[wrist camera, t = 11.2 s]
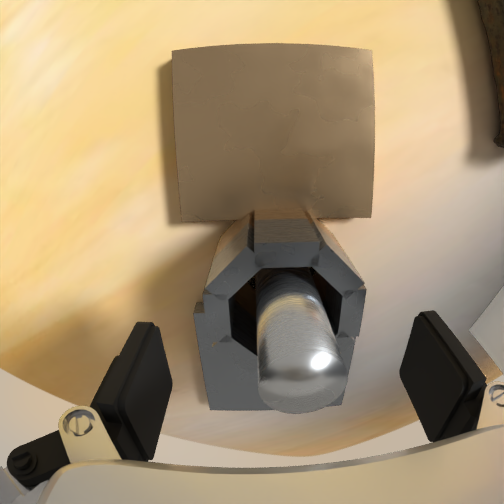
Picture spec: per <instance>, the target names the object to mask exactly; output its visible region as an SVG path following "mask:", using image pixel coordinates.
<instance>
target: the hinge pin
mask: <svg viewBox="0 0 504 504" xmlns="http://www.w3.org/2000/svg"><path fill="white" fill-rule="evenodd" d="M255 279H256V319H257V360H258V391H259V395H260V397H261V399H262V400H263V401H264V403H266V404H267V405H268V406H269V407H271V408H273V409H275V410H277V411H280V412H284V413H292V414H301V413H308V412H312V411H316V410H319V409H321V408H323V407H325V406H327V405H329V404H331V403H332V402H333V401H335V400H336V399H337V398H338V397H339V396H340V395H341V394H342V392H343V391H344V389H345V387H346V384H347V380H348V374H347V370H346V367H345V364H344V362H343V359H342V356H341V353H340V350H339V347H338V345H337V342H336V339H335V336H334V333H333V331H332V328H331V325H330V322H329V320H328V317H327V314H326V312H325V309H324V306H323V303H322V301H321V298H320V296H319V293H318V290H317V288H316V285H315V282H314V280H313V277H312V275H311V272H310V269H309V267H283V268H261V269H260V270H259V271H258V272H257V273H256V274H255Z"/></svg>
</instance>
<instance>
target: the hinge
mask: <svg viewBox="0 0 504 504" xmlns="http://www.w3.org/2000/svg"><path fill="white" fill-rule="evenodd" d="M172 83H173V109H174V129H175V146H176V160H177V173H178V186H179V197H180V208H181V218H182V222H191V221H216V220H236V221H235V222H234V223H233V224H232V225H231V226H230V227H229V228H228V229H227V230H226V231H225V232H224V234H223V235H222V236H221V237H220V240H219V242H218V245H217V249H216V252H215V255H214V258H213V262H212V265H211V268H210V271H209V275H208V278H207V281H206V285H205V288H204V292H203V302H204V303H196V306H195V310H194V313H193V314H194V321H195V327H196V334H197V340H198V346H199V352H200V358H201V364H202V369H203V375H204V380H205V386H206V391H207V396H208V402H209V407H210V410H275V409H273V408H271V407H269V406H268V405H267V404H266V403H264V401H263V400H262V399H261V397H260V395H259V391H258V360H257V319H256V290H255V289H254V288H253V287H251V286H250V285H249V284H248V283H247V281H248V280H250V279H251V278H252V277H253V276H254V275H255V274H256V273H257V272H258V271H259V270H260V269H261V268H283V267H313V268H314V269H315V270H316V274H315V275H313V276H312V277H313V280H314V282H315V285H316V288H317V290H318V293H319V296H320V298H321V301H322V303H323V306H324V309H325V312H326V314H327V317H328V320H329V322H330V325H331V328H332V331H333V333H334V336H335V339H336V342H337V345H338V347H339V350H340V353H341V356H342V359H343V362H344V364H345V367H346V370H347V374H349V369H350V364H351V359H352V354H353V349H354V344H355V338H356V337H357V336H359V332H360V327H361V321H362V315H363V309H364V303H365V296H366V288H365V286H364V281H363V280H362V278H361V276H360V275H359V273H358V272H357V270H356V269H355V267H354V266H353V264H352V262H351V261H350V259H349V258H348V256H347V255H346V253H345V252H344V250H343V249H342V247H341V246H340V244H339V243H338V241H337V240H336V238H335V237H334V235H333V234H332V233H331V232H330V231H329V230H328V229H327V228H326V227H325V226H324V225H323V224H322V223H321V222H320V221H319V220H318V219H317V218H371V213H372V199H373V181H374V152H375V100H374V73H373V56H372V50H366V49H358V48H349V47H340V46H328V45H313V44H283V43H265V44H235V45H220V46H208V47H198V48H190V49H182V50H174V51H172ZM344 392H345V389H344V391H343V392H342V394H341V395H340V396H339V397H338V398H337V399H336V400H335V401H333V402H332V403H331V404H329V405H327V406H336V405H341V404H342V400H343V396H344ZM327 406H325V407H327Z"/></svg>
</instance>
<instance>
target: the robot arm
mask: <svg viewBox="0 0 504 504" xmlns="http://www.w3.org/2000/svg"><path fill="white" fill-rule="evenodd" d="M400 378H401V380H402V382H403V384H404V387H405V389H406V391H407V393H408V395H409V397H410V399H411V402H412V404H413V406H414V408H415V410H416V413H417V415H418V417H419V419H420V422H421V423H422V426H423V428H424V431H425V433H426V435H427V437H428V440H429V441H430V442H433V443H429V444H426V445H422V446H418V447H414V448H410V449H406V450H402V451H397V452H393V453H388V454H383V455H378V456H372V457H367V458H361V459H355V460H348V461H342V462H333V463H326V464H315V465H304V466H290V467H269V468H221V467H202V466H185V465H173V464H163V463H155V462H148V460H152V459H153V457H154V454H155V450H156V446H157V442H158V439H159V435H160V431H161V427H162V423H163V420H164V416H165V412H166V409H167V405H168V401H169V398H170V394H171V391H172V378H171V374H170V370H169V366H168V362H167V358H166V354H165V350H164V346H163V342H162V338H161V333H160V329H159V327H158V326H155V325H154V323H152V322H137V323H136V325H135V326H134V328H133V330H132V332H131V334H130V336H129V338H128V340H127V341H126V343H125V345H124V347H123V349H122V351H121V353H120V355H119V356H116V357H115V358H114V360H113V361H112V363H111V365H110V367H109V369H108V371H107V373H106V375H105V377H104V379H103V381H102V383H101V385H100V387H99V389H98V391H97V393H96V395H95V397H94V399H93V401H92V403H91V405H90V407H87V406H77V407H73V408H71V409H69V410H67V411H66V412H65V413H64V414H63V415H62V416H61V418H60V419H59V424H58V427H59V430H57V431H55V432H53V433H50V434H48V435H46V436H43V437H41V438H38V439H36V440H34V441H31V442H29V443H27V444H24V445H21V446H19V447H17V448H16V449H14V450H13V451H12V452H11V453H10V455H9V456H8V459H7V467H6V468H5V469H3V468H2V467H0V504H504V382H499V381H498V382H492V383H490V384H489V385H488V386H487V385H486V383H485V381H486V377H485V376H484V374H483V373H482V372H481V370H480V369H479V367H478V366H477V365H476V363H475V362H474V361H473V359H472V358H471V356H470V355H469V354H468V352H467V351H466V350H465V348H464V347H463V346H462V344H461V343H460V342H459V340H458V339H457V338H456V337H455V335H454V334H453V333H452V331H451V330H450V329H449V328H448V326H447V325H446V324H445V323H444V321H443V320H442V319H441V318H440V316H439V315H438V314H437V313H436V312H435V311H424V312H420V313H419V315H418V316H416V317H415V319H414V323H413V327H412V330H411V334H410V338H409V341H408V345H407V348H406V351H405V355H404V358H403V361H402V364H401V367H400Z"/></svg>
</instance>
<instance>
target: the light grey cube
mask: <svg viewBox="0 0 504 504" xmlns="http://www.w3.org/2000/svg"><path fill="white" fill-rule="evenodd" d="M469 331H470V332H471V334H472V335H473V336H474V337H475V339H476V340H477V341H478V342H479V343H480V345H481V346H482V347H483V348H484V350H485V351H486V352H487V354H488V355H489V356H490V357H491V359H492V360H493V361H494V363H495V364H496V365H497V366H498V368H499V369H500V370H501V372H502V373H503V374H504V285H503V287H502V288H501V290H500V291H499V292H498V294H497V295H496V296H495V298H494V299H493V300H492V302H491V303H490V304H489V306H488V307H487V308H486V309H485V311H484V312H483V313H482V314H481V316H480V317H479V318H478V319H477V321H476V322H475V323H474V324H473V325H472V327H471V328H470V329H469Z"/></svg>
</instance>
